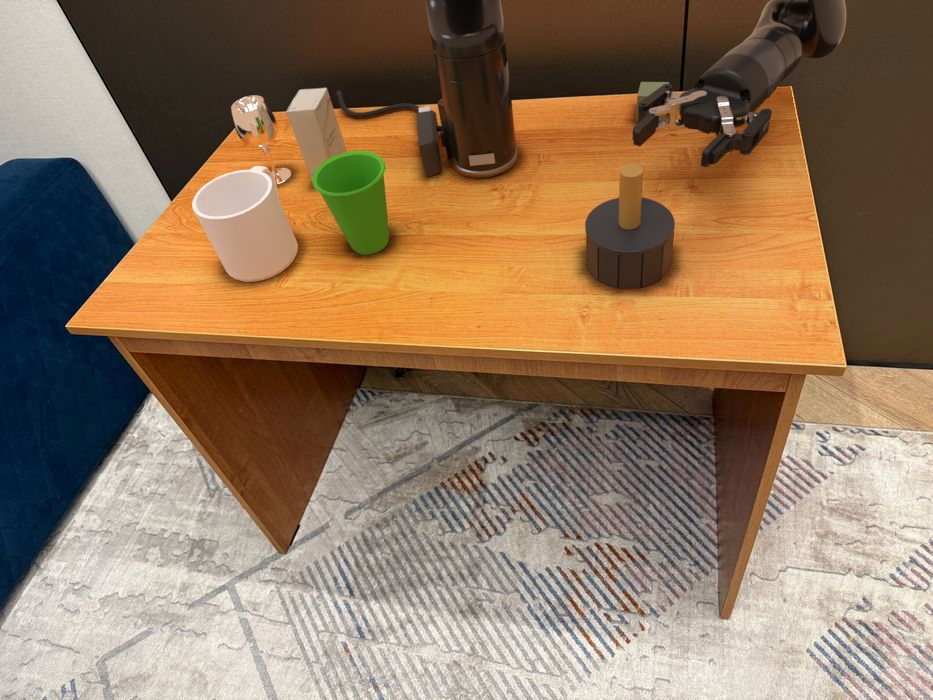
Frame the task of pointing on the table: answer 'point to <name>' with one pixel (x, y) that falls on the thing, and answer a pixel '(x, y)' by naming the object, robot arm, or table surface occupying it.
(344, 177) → the cup
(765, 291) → the table surface
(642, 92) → the block
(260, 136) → the wineglass
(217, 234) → the mug
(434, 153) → the usb drive
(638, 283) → the gray cylinder with peg
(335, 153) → the cosmetic box
